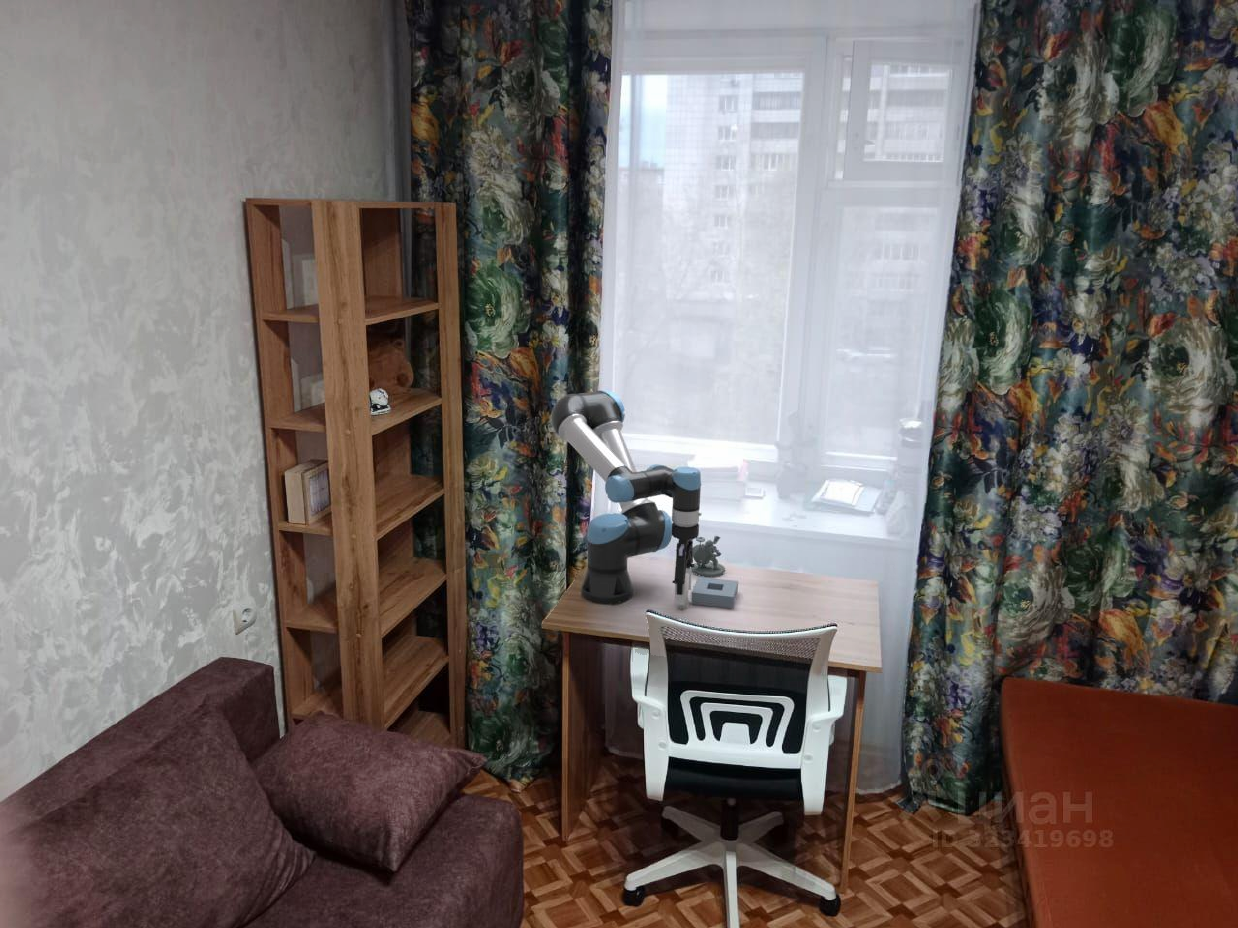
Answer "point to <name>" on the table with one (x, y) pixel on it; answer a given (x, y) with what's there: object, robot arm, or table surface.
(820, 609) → the table surface
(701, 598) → the hole block
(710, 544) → the figurine
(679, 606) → the peg
